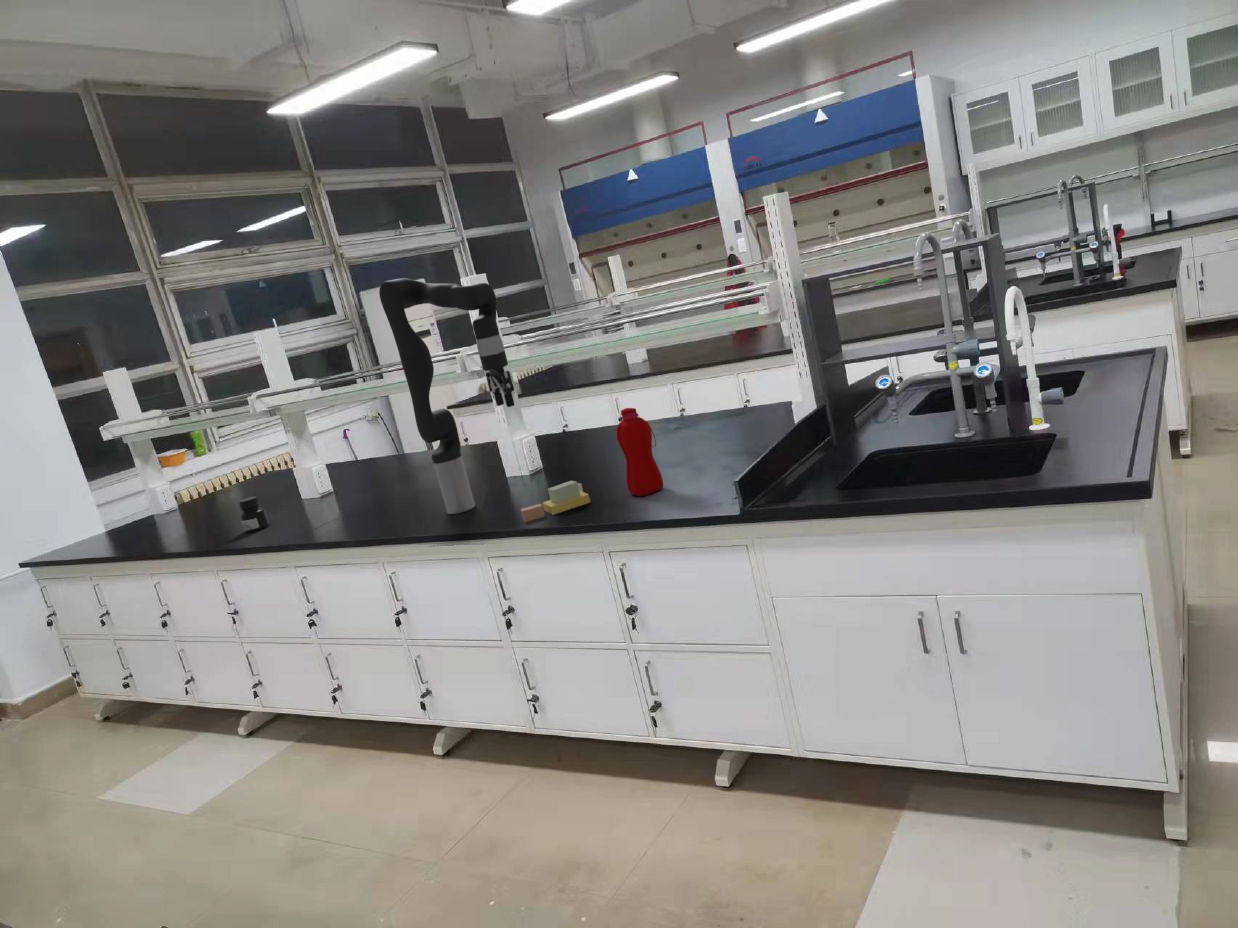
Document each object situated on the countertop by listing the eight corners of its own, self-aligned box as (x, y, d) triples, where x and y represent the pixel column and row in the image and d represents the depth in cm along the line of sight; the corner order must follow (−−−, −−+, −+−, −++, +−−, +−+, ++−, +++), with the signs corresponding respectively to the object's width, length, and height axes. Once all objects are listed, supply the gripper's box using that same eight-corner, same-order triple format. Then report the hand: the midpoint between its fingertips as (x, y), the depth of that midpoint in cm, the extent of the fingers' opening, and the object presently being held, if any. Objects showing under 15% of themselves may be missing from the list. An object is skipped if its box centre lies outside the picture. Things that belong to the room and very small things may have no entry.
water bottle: (673, 486, 248) (654, 403, 243) (640, 498, 244) (621, 413, 239) (657, 483, 257) (639, 401, 251) (626, 494, 252) (606, 412, 247)
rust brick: (525, 522, 248) (521, 511, 247) (523, 520, 251) (520, 509, 250) (545, 517, 249) (542, 505, 249) (543, 514, 252) (540, 503, 251)
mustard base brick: (544, 512, 257) (542, 502, 256) (581, 499, 261) (579, 490, 260) (553, 516, 249) (550, 506, 249) (590, 504, 253) (588, 494, 253)
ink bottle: (240, 533, 327) (230, 503, 324) (260, 525, 334) (250, 495, 331) (254, 533, 321) (244, 502, 318) (275, 524, 328) (265, 494, 325)
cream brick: (564, 496, 267) (561, 486, 267) (571, 493, 269) (568, 483, 269) (576, 497, 263) (574, 486, 262) (583, 494, 265) (581, 483, 264)
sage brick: (550, 501, 254) (547, 489, 254) (574, 493, 258) (571, 480, 257) (556, 503, 251) (553, 490, 250) (580, 494, 254) (577, 481, 254)
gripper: (472, 355, 258) (485, 408, 261) (488, 355, 245) (502, 410, 249) (495, 349, 261) (508, 401, 265) (512, 348, 249) (526, 403, 252)
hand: (505, 405), depth 257 cm, fingers open, 8 cm apart
